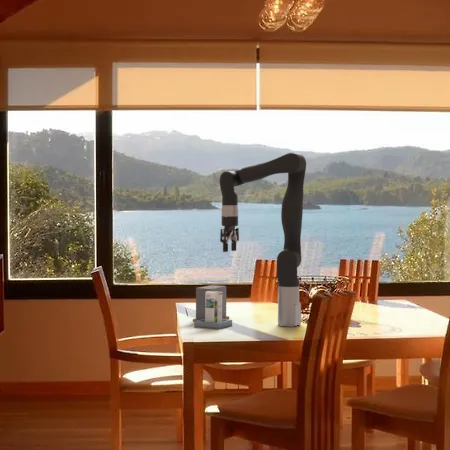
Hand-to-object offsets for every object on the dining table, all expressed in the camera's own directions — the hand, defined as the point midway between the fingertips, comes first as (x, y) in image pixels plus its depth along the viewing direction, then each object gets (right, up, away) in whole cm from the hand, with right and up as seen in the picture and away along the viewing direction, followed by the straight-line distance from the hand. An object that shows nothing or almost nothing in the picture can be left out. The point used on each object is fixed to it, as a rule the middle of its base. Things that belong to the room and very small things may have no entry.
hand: (229, 251), depth 374 cm
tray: (-7, -32, -16) cm, 37 cm away
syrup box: (-7, -32, -16) cm, 36 cm away
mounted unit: (-8, -31, +2) cm, 32 cm away
